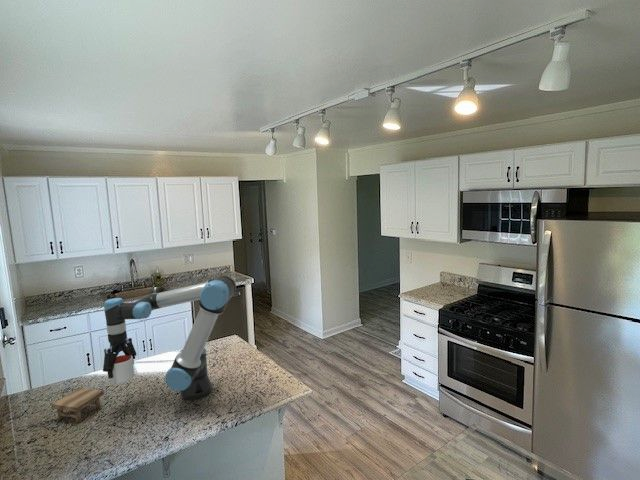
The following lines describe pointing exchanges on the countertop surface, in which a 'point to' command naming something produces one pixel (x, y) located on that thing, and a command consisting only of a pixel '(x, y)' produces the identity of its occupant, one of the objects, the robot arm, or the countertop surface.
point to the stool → (77, 402)
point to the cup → (123, 369)
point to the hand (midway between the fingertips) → (122, 378)
